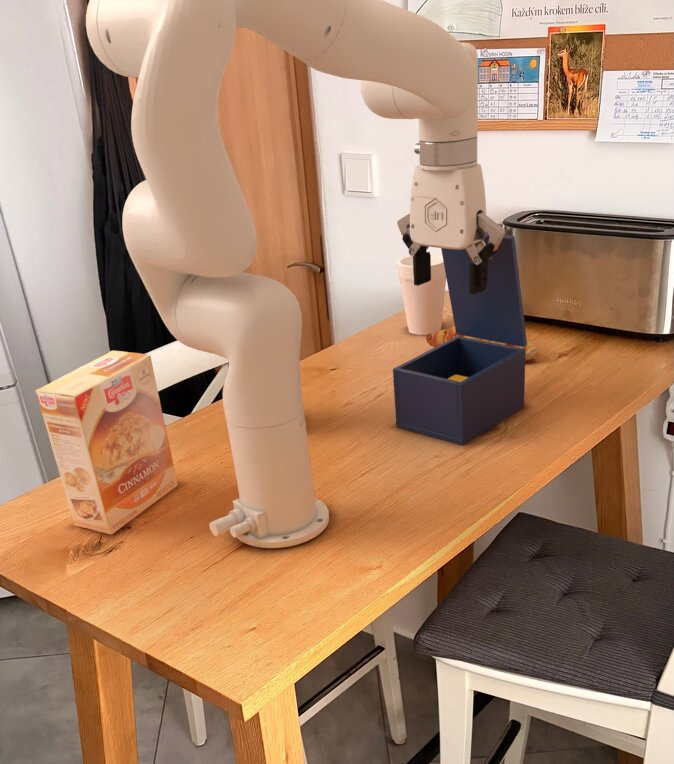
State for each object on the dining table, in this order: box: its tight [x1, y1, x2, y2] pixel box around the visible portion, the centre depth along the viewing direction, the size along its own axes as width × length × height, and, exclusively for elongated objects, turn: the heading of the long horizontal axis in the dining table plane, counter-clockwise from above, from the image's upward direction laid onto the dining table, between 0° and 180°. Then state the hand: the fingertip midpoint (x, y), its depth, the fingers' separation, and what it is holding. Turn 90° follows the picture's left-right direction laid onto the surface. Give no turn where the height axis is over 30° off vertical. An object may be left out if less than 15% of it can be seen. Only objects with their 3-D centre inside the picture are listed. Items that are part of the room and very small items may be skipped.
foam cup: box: [396, 252, 447, 336], centre depth 172 cm, size 10×9×13 cm
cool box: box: [392, 336, 526, 446], centre depth 138 cm, size 16×13×9 cm
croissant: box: [425, 324, 539, 361], centre depth 160 cm, size 21×10×8 cm, turn 60°
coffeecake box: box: [35, 349, 179, 536], centre depth 121 cm, size 15×7×20 cm, turn 151°
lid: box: [440, 228, 528, 347], centre depth 135 cm, size 17×13×5 cm
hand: (449, 287), depth 128 cm, fingers open, 9 cm apart
